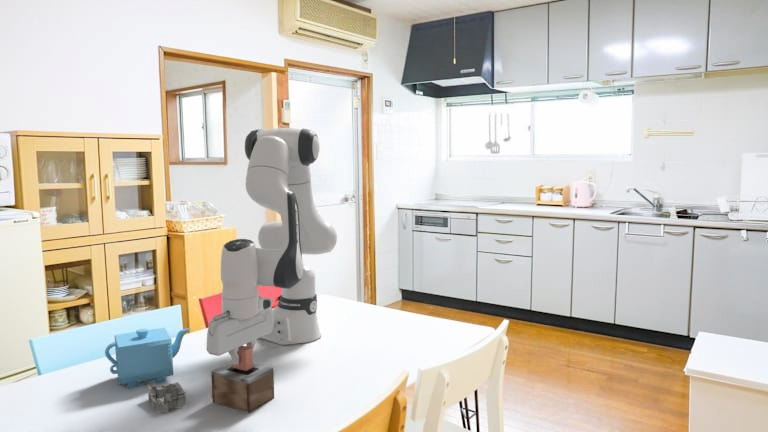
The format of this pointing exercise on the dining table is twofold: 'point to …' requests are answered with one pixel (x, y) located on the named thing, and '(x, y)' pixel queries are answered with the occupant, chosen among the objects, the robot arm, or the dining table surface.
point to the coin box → (242, 386)
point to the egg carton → (167, 397)
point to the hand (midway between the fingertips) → (242, 360)
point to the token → (245, 358)
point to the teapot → (144, 355)
